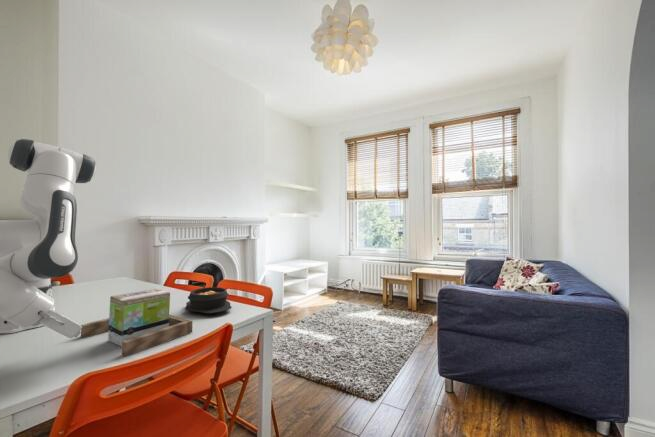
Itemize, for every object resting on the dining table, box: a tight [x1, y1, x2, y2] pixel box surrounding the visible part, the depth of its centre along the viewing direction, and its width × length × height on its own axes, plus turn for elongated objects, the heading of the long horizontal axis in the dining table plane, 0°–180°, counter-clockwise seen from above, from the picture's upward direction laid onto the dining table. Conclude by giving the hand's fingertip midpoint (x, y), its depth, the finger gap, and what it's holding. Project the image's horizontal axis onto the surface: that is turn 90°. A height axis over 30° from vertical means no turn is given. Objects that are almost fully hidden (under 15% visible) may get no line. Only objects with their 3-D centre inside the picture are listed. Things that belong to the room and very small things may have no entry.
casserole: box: [185, 286, 233, 314], centre depth 132 cm, size 25×19×8 cm
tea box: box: [107, 288, 171, 348], centre depth 101 cm, size 15×10×15 cm, turn 148°
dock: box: [80, 314, 194, 358], centre depth 102 cm, size 22×28×4 cm
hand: (76, 333), depth 87 cm, fingers closed
